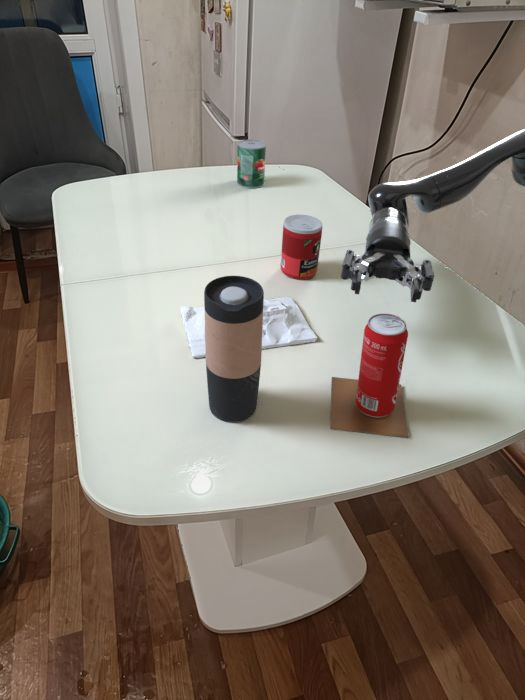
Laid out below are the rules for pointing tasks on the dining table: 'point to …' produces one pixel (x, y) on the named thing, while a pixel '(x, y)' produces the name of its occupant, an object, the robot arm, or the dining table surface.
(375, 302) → the dining table surface
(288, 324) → the terrain model
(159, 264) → the dining table surface
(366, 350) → the beverage can
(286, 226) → the canned food
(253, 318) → the travel mug
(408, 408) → the dining table surface
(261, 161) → the canned tomato
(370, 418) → the cork mat
